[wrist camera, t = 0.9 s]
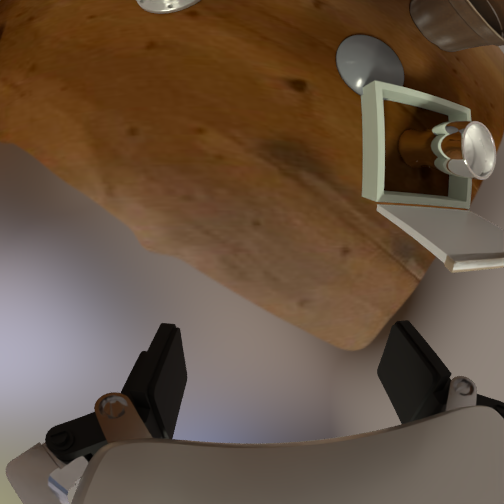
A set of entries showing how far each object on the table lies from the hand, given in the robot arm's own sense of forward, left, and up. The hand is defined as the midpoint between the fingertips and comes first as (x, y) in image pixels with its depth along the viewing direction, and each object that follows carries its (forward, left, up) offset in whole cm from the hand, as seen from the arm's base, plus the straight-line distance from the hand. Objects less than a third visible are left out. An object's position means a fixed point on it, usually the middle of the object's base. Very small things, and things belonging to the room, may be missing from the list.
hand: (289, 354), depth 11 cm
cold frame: (-11, +23, -28) cm, 38 cm away
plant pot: (-37, +32, -28) cm, 57 cm away
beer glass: (-11, +23, -28) cm, 38 cm away
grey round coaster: (-23, +16, -28) cm, 40 cm away
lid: (-2, +23, -15) cm, 28 cm away
